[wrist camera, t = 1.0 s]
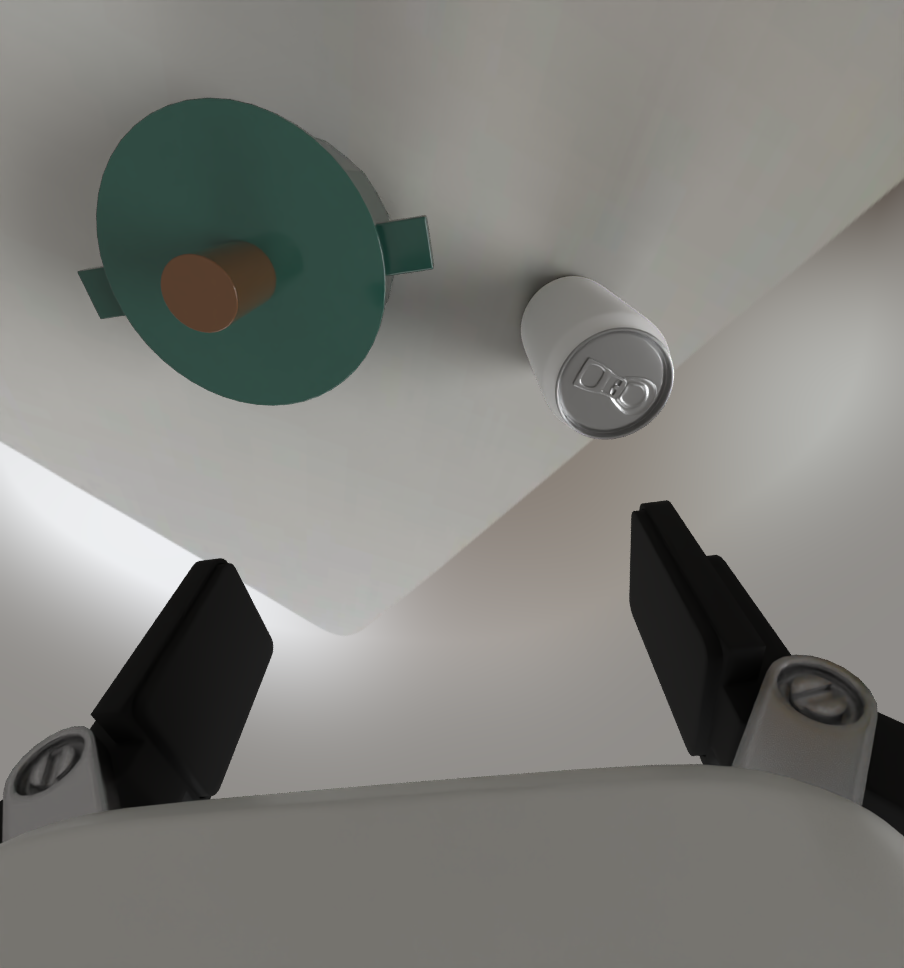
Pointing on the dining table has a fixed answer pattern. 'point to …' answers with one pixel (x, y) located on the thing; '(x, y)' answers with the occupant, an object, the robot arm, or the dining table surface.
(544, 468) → the dining table surface
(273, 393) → the pot lid
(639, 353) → the can
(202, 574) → the robot arm
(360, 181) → the pot
